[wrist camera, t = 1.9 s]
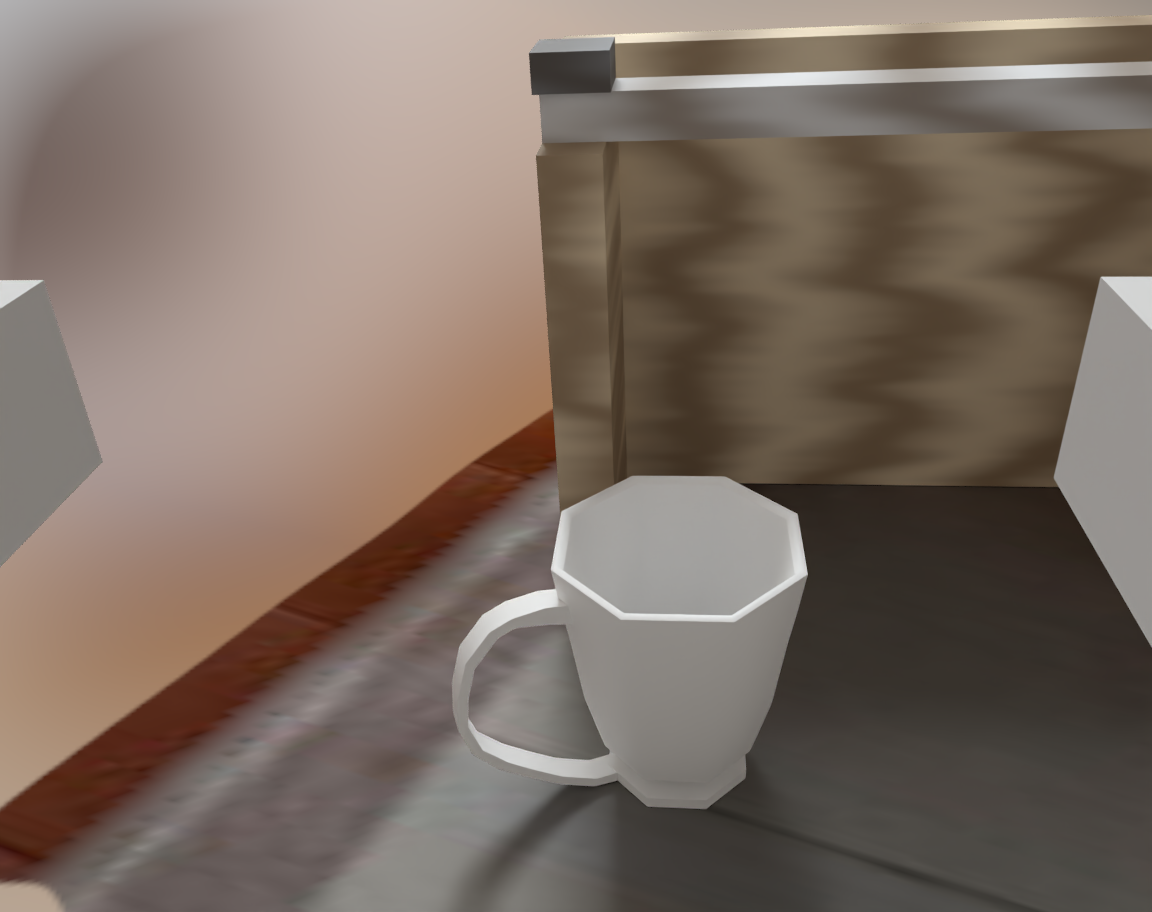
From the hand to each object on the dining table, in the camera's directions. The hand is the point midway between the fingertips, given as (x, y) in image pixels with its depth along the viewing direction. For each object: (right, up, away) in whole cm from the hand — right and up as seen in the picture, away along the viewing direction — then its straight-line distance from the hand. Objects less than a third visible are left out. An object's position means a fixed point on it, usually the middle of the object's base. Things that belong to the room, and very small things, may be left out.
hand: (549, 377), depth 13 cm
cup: (+2, -11, +18) cm, 21 cm away
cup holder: (+12, -4, +28) cm, 31 cm away
